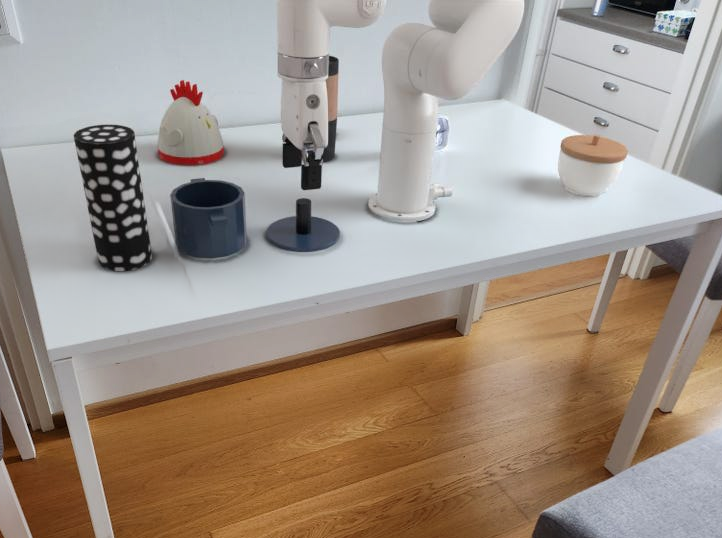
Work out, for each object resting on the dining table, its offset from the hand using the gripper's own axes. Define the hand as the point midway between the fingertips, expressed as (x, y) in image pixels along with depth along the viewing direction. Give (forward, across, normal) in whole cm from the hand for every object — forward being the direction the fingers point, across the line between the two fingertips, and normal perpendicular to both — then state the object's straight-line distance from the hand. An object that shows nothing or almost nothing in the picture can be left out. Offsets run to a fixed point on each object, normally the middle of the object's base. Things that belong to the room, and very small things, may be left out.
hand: (301, 177), depth 110 cm
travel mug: (+11, +36, -16) cm, 41 cm away
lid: (+10, 0, -1) cm, 10 cm away
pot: (+11, +2, +15) cm, 19 cm away
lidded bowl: (+10, +4, -62) cm, 63 cm away
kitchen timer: (+11, +45, +10) cm, 47 cm away
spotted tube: (+11, +1, +29) cm, 31 cm away
